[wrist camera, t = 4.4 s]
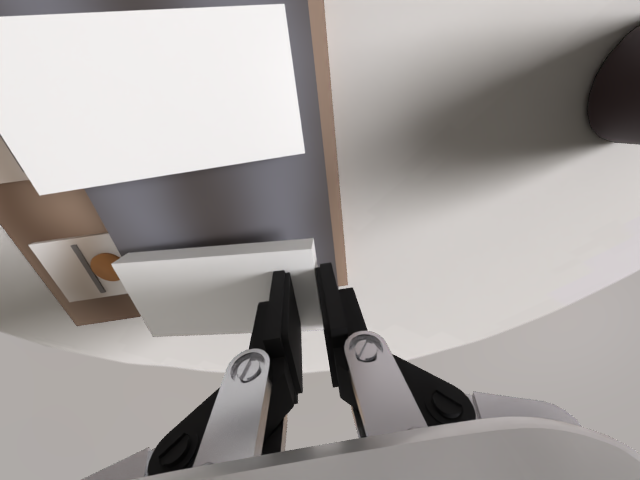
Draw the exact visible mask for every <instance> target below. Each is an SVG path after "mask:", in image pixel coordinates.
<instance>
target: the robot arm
mask: <svg viewBox="0 0 640 480" xmlns="http://www.w3.org/2000/svg"><path fill="white" fill-rule="evenodd" d="M316 275H317V283H318V290H319V298H320V306H321V313H322V321H323V328H324V335H325V341H326V347H327V353H328V360H329V366H330V372H331V378H332V384H333V387H339V392H340V397H341V398H342V399H343V400H344V401H346V402H347V403H348V404H350V405H351V410H352V414H353V417H354V422H355V425H356V429H357V433H358V437H359V438H358V439H353V440H347V441H341V442H335V443H329V444H324V445H319V446H312V447H307V448H301V449H295V450H289V451H285V443H286V432H287V413H288V412H289V411H290V410H291V409H292V408H293V406H294V404H297V403H298V393H302V392H303V387H302V348H301V322H300V317H299V312H298V308H297V303H296V298H295V294H294V289H293V284H292V280H291V275H290V272H287V273H285V270H281V271H273V275H272V282H271V289H270V296H269V301H264V302H259V303H258V306H257V311H256V316H255V321H254V326H253V331H252V336H251V341H250V346H249V350H245V351H243V352H241V353H240V354H238V355H237V356H236V357H234V358H233V360H232V361H231V362H230V363H229V365H228V367H227V369H226V372H225V375H224V378H223V381H222V384H221V387H220V388H219V389H218V390H216V391H215V392H214V393H213V394H212V395H211V396H210V397H208V398H207V399H206V400H205V401H204V402H203V403H202V404H201V405H199V406H198V407H197V408H196V409H195V410H194V411H193V412H192V413H190V414H189V415H188V416H187V417H186V418H185V419H184V420H183V421H181V422H180V423H179V424H178V425H177V426H176V427H175V428H174V429H173V430H172V431H170V432H169V433H168V434H167V435H166V436H165V437H164V438H163V439H162V440H161V441H160V442H159V444H158V445H157V447H156V448H154V449H152V450H151V449H150V448H149V447H148V448H146V449H144V450H141V451H140V452H137V453H135V454H133V455H131V456H129V457H127V458H125V459H123V460H121V461H119V462H117V463H115V464H113V465H111V466H108V467H106V468H104V469H102V470H100V471H98V472H96V473H94V474H92V475H90V476H88V477H86V478H84V479H82V480H640V453H638V452H637V451H635V450H634V449H632V448H630V447H629V446H627V445H626V444H624V443H622V442H620V441H618V440H616V439H614V438H611V437H610V436H607V435H605V434H602V433H599V432H597V431H594V430H591V429H588V428H584V427H582V426H581V425H580V424H579V422H578V421H577V420H576V419H575V418H574V417H573V416H572V415H570V414H569V413H568V412H566V411H565V410H563V409H562V408H560V407H558V406H556V405H554V404H551V403H547V402H544V401H538V400H531V399H523V398H516V397H509V396H502V395H495V394H488V393H481V392H473V395H470V394H464V393H463V392H462V391H461V390H460V389H458V388H456V387H455V386H453V385H452V384H449V383H447V382H446V381H444V380H442V379H440V378H438V377H436V376H434V375H432V374H430V373H428V372H426V371H424V370H422V369H420V368H418V367H417V366H415V365H413V364H411V363H409V362H407V361H405V360H403V359H401V358H399V357H397V356H395V355H393V354H392V353H391V351H390V349H389V347H388V345H387V343H386V342H385V340H384V339H383V338H382V337H381V336H380V335H378V334H376V333H374V332H371V331H367V328H366V325H365V322H364V319H363V316H362V313H361V310H360V307H359V304H358V301H357V298H356V295H355V292H354V290H353V288H346V289H340V290H338V288H337V284H336V280H335V276H334V272H333V268H332V264H331V262H329V263H323V264H320V267H317V268H316Z"/></svg>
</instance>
